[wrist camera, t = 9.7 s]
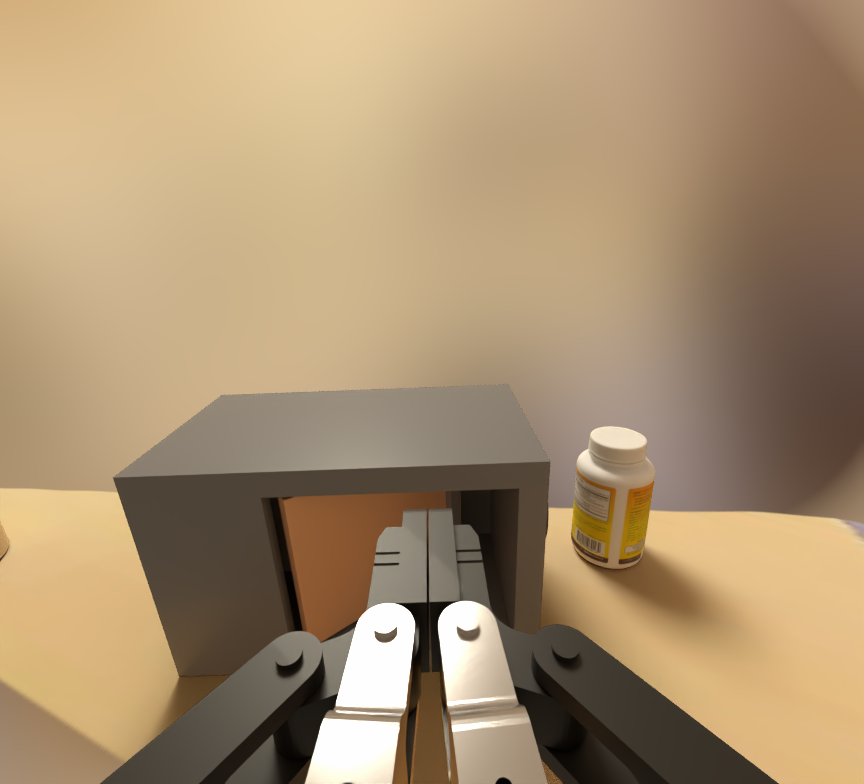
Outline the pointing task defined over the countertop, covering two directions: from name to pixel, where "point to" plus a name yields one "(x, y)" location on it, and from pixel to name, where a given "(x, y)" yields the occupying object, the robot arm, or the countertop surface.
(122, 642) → the countertop surface
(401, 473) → the housing
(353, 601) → the door
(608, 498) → the supplement bottle
